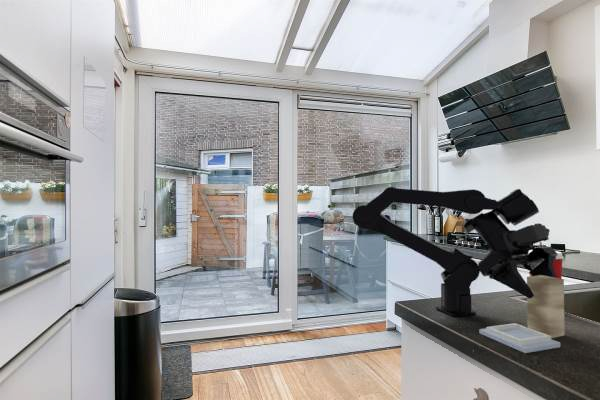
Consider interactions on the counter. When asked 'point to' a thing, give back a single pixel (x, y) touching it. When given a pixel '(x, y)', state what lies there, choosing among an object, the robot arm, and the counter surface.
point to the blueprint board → (520, 337)
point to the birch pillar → (546, 305)
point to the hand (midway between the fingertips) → (547, 294)
